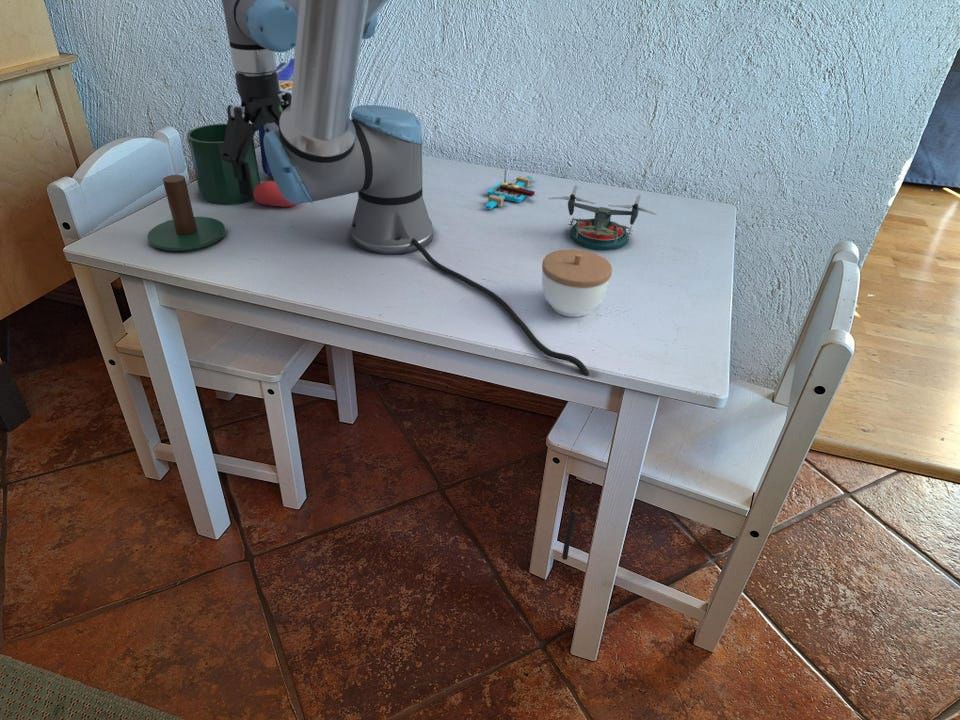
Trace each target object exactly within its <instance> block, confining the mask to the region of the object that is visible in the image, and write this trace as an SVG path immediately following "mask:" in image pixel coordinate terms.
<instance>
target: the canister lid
mask: <svg viewBox="0 0 960 720" xmlns="http://www.w3.org/2000/svg"><path fill="white" fill-rule="evenodd" d="M162 183H163V187H164V191H165V195H166V198H167V202H168V206H169V210H170V214H171V218H172V219H170V220H166V221H164V222H161V223H159V224H157V225H155V226H154V227H152V228H151V229H150V230H149V231H148V233H147V240H148V243H149V244H150V245H151V246H152V247H154V248H157V249H159V250H164V251H171V252H172V251H175V252H176V251H177V252H179V251H191V250H196V249H202V248H205V247H207V246H210V245H213V244H215V243H217V242H218V241H220V240H221V239H222V238H223V237H224V235H225V234H226V226H225V225H224V223H223V222H222V221H220V220H218V219H216V218H213V217H209V216H208V217H207V216H195V214H194V210H193V205H192V202H191V197H190V193H189V189H188V184H187V181H186V177H185V176H184V175H182V174H171V175H166V176H164V177H163V178H162Z"/></svg>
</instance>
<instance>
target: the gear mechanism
mask: <svg viewBox="0 0 960 720" xmlns="http://www.w3.org/2000/svg"><path fill="white" fill-rule="evenodd" d="M532 180H533V177H532V176H530V175H528V176H526V177H524V176H521V175H518V176H517V177H516V179H515V184H514V183H513V182H507V168H506V169H504V175H503V181H502V182H499V183H496V184H495V185H494V186H493V187H491V188H490V189H488V190H487V195H489V196H488V203H486V204H485V209H488V210H492V209H493V208H494V207H500V208H501V207H503V206H504V200H507V201H510V202H515V203H520V202H522V201H523V200H524V199H526V198H527V197H533V196H534V195H535V192H536V191H534V190H532V188H529V187H530V186H531V181H532Z"/></svg>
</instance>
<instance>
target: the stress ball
mask: <svg viewBox="0 0 960 720" xmlns="http://www.w3.org/2000/svg"><path fill="white" fill-rule="evenodd" d="M253 196H254V199H253V200H255V201H256V202H257V203H258V204H260V205H263V206H271V207H282V208H283V207H284V208H285V207H286V208H287V207H294V206H296V205H297V204H293V203H291V202H288V201H287V200H286V199H285V198H284V197H283V196H282V194H281V192H280V191H279V189H278V187H277V185H276V183H275V181H274V180H267V181H266V180H265V181H262V182H261V183H260V184H258V185H257V186H256V187H255V189H254V191H253Z"/></svg>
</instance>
